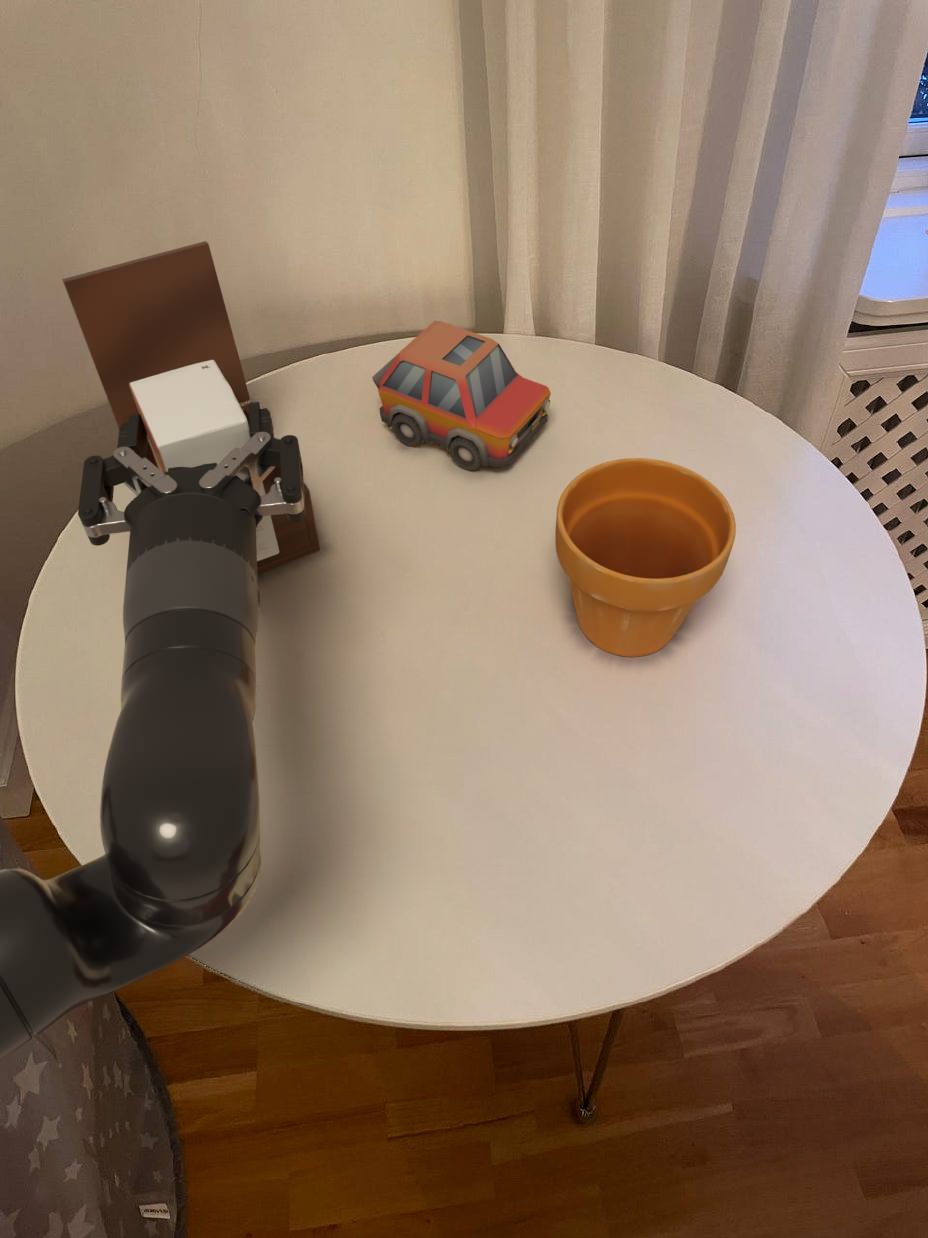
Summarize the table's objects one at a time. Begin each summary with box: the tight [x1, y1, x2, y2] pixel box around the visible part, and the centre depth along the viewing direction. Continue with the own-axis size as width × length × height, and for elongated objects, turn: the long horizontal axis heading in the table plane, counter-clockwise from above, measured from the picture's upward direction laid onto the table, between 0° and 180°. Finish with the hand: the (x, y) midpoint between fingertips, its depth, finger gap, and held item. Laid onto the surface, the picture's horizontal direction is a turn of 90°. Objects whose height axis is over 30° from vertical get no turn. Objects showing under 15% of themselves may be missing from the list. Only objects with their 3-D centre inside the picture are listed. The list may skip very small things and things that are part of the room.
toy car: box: [371, 320, 552, 471], centre depth 98 cm, size 12×17×10 cm
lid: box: [61, 240, 251, 429], centre depth 85 cm, size 15×13×1 cm
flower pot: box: [554, 457, 737, 658], centre depth 79 cm, size 14×14×13 cm
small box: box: [129, 360, 279, 561], centre depth 69 cm, size 8×6×13 cm
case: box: [146, 402, 321, 575], centre depth 89 cm, size 15×13×8 cm
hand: (197, 418), depth 65 cm, fingers closed on small box, 7 cm apart
